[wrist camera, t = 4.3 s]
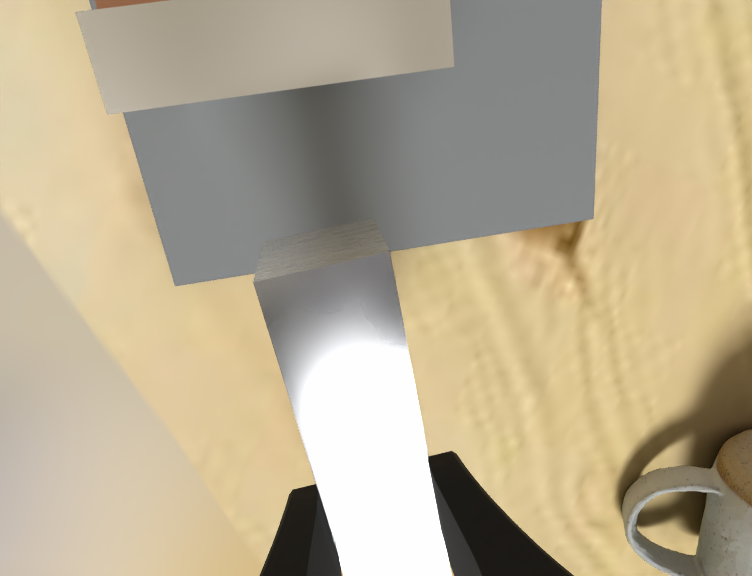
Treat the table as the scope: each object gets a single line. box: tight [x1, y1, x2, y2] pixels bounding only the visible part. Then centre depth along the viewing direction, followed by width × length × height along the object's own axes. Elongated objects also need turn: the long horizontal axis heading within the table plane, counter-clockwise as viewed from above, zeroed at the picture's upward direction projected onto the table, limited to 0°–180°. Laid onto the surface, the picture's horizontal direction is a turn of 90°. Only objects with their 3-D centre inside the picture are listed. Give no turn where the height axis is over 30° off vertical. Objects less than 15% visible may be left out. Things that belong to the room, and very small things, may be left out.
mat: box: [89, 0, 602, 286], centre depth 16 cm, size 16×16×1 cm
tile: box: [75, 0, 454, 115], centre depth 13 cm, size 7×2×7 cm, turn 97°
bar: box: [253, 217, 451, 576], centre depth 13 cm, size 2×12×2 cm, turn 10°
